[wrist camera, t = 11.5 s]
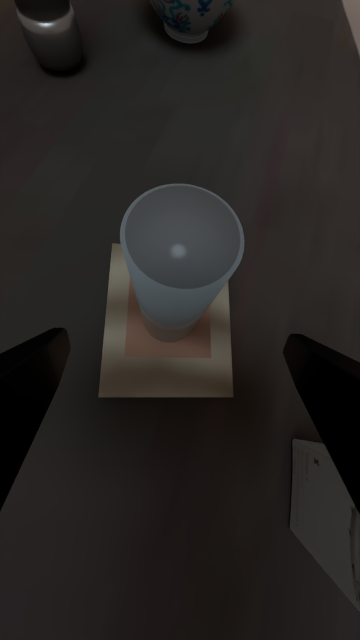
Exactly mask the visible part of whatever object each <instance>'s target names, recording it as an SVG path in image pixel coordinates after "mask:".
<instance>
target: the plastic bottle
mask: <svg viewBox="0 0 360 640" xmlns="http://www.w3.org/2000/svg"><path fill="white" fill-rule="evenodd" d="M14 2H15V5H16V10H17V14H18V18H19V22H20V25H21V28H22V32H23V35H24V38H25V40H26V42H27V44H28V46H29V48H30V50H31V51H32V53H33V55H34V57H35V58H36V59H37V60H38V61H39V62H40V63H41V64H42V65H43V66H44V67H46V68H48V69H50V70H54V71H67V70H70V69H73V68H74V67H76V66H77V65H78V64H79V63H80V60H81V57H82V52H83V48H82V39H81V32H80V29H79V25H78V22H77V19H76V16H75V13H74V11H73V8H72V5H71V3H70V2H69V0H14Z"/></svg>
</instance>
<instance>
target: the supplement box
mask: <svg viewBox="0 0 360 640" xmlns="http://www.w3.org/2000/svg"><path fill="white" fill-rule="evenodd" d="M292 446H293V471H292V495H291V514H290V530H291V531H292V532H293V533H294V534H295V536H296V537H297V538H298V539H299V541H300V542H301V543H302V544H303V545H304V547H305V548H306V549H307V550H308V551H309V552H310V554H311V555H312V556H313V557H314V558H315V560H316V561H317V562H318V563H319V564H320V566H321V567H322V568H323V569H324V570H325V571H326V573H327V574H328V575H329V576H330V577H331V579H332V580H333V581H334V582H335V583H336V584H337V586H338V587H339V588H340V589H341V590H342V592H343V593H344V594H345V595H346V596H347V598H348V599H349V600H350V601H351V602H352V604H353V605H354V606H355V607H356V608H357V609H358V611H359V612H360V513H359V512H358V511H357V509H356V507H355V505H354V503H353V501H352V499H351V497H350V495H349V493H348V491H347V489H346V487H345V485H344V483H343V481H342V479H341V477H340V475H339V473H338V471H337V469H336V467H335V465H334V463H333V461H332V459H331V457H330V455H329V453H328V451H327V449H326V447H325V445H324V444H323V443H317V442H311V441H305V440H299V439H293V441H292Z"/></svg>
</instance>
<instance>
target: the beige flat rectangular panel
mask: <svg viewBox="0 0 360 640" xmlns="http://www.w3.org/2000/svg"><path fill="white" fill-rule="evenodd" d="M98 397H233V377H232V355H231V334H230V313H229V291H228V281H227V283H226V284H225V285H224V287H223V288H222V289H221V291H220V292H219V294H218V295H217V296H216V298H215V299H214V300H213V302H212V303H211V304H210V306H209V307H208V309H207V310H206V311H205V313H204V314H203V315H202V317H201V318H200V320H199V321H198V322H197V324H196V325H195V326H194V328H193V329H192V331H191V332H190V333H189V334H188V335H187V336H186V337H185V338H184V339H182V340H180V341H177V342H172V343H166V342H161V341H159V340H157V339H155V338H153V337H152V336H151V335H150V334H149V333H148V331H147V330H146V328H145V325H144V322H143V319H142V316H141V312H140V309H139V305H138V302H137V298H136V295H135V292H134V288H133V285H132V281H131V278H130V275H129V271H128V268H127V264H126V261H125V258H124V254H123V251H122V247H121V244H113V243H112V254H111V265H110V276H109V287H108V298H107V309H106V319H105V330H104V341H103V352H102V363H101V374H100V385H99V396H98Z"/></svg>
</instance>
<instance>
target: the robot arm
mask: <svg viewBox="0 0 360 640" xmlns="http://www.w3.org/2000/svg"><path fill="white" fill-rule="evenodd" d="M69 352H70V342H69V338H68V333H67V330H66V329H65V328H52V329H50V330H48V331H46V332H44V333H42V334H40V335H38V336H36V337H34V338H32V339H30V340H28V341H26V342H23V343H21V344H19V345H17V346H15V347H13V348H11V349H9V350H7V351H5V352H3V353H1V354H0V511H1V508H2V506H3V504H4V502H5V500H6V498H7V496H8V493H9V491H10V489H11V487H12V485H13V483H14V480H15V478H16V476H17V474H18V472H19V470H20V468H21V465H22V463H23V461H24V459H25V457H26V455H27V453H28V450H29V448H30V446H31V444H32V442H33V440H34V437H35V435H36V433H37V431H38V429H39V427H40V425H41V422H42V420H43V418H44V416H45V414H46V412H47V410H48V407H49V405H50V403H51V401H52V399H53V397H54V395H55V392H56V390H57V388H58V386H59V383H60V380H61V377H62V374H63V371H64V368H65V365H66V362H67V359H68V356H69ZM283 354H284V357H285V360H286V363H287V366H288V368H289V371H290V374H291V376H292V379H293V382H294V384H295V386H296V389H297V391H298V393H299V395H300V397H301V399H302V401H303V403H304V405H305V407H306V409H307V411H308V413H309V415H310V417H311V419H312V421H313V423H314V425H315V427H316V429H317V431H318V433H319V435H320V437H321V439H322V441H323V443H324V445H325V447H326V449H327V451H328V453H329V455H330V457H331V459H332V461H333V463H334V465H335V467H336V469H337V471H338V473H339V475H340V477H341V479H342V481H343V483H344V485H345V487H346V489H347V491H348V493H349V495H350V497H351V499H352V501H353V503H354V505H355V507H356V509H357V511H358V512H359V513H360V362H358V361H356V360H354V359H352V358H349V357H347V356H345V355H343V354H341V353H339V352H337V351H335V350H333V349H331V348H329V347H327V346H325V345H323V344H320V343H318V342H316V341H314V340H312V339H310V338H308V337H306V336H304V335H302V334H290V335H289V336H288V339H287V341H286V344H285V347H284V350H283Z"/></svg>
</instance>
